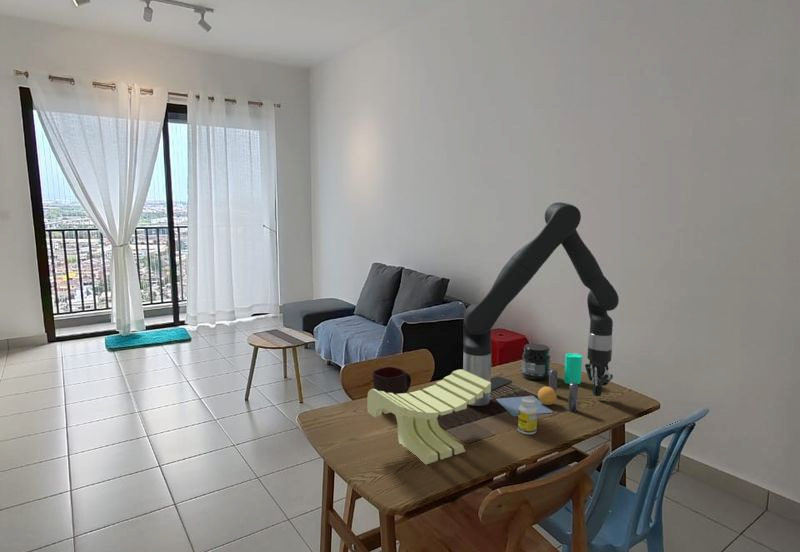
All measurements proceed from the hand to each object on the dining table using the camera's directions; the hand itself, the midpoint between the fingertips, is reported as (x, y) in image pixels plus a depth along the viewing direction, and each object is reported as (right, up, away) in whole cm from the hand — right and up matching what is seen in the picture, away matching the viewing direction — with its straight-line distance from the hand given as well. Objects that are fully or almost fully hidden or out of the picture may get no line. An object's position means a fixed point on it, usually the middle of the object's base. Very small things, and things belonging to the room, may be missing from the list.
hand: (596, 395), depth 168 cm
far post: (-14, -1, +4) cm, 15 cm away
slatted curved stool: (-59, -6, -32) cm, 68 cm away
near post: (-11, -3, -9) cm, 15 cm away
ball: (-18, +1, -4) cm, 19 cm away
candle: (-2, +1, +17) cm, 17 cm away
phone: (-33, 0, +15) cm, 36 cm away
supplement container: (-15, +2, +22) cm, 27 cm away
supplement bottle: (-30, -5, -23) cm, 38 cm away
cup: (-69, -2, -5) cm, 70 cm away
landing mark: (-26, -2, -5) cm, 27 cm away
